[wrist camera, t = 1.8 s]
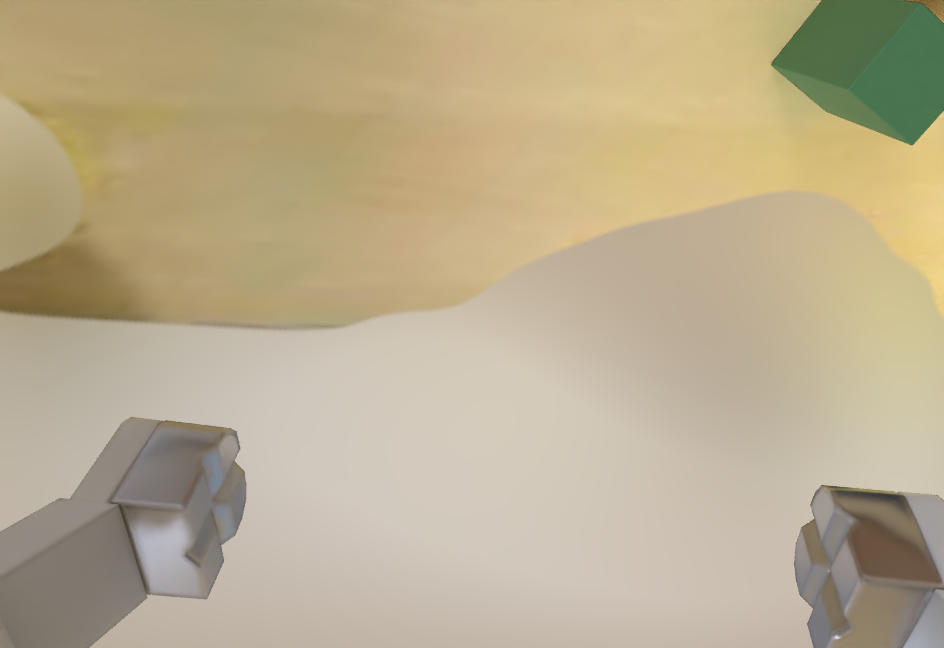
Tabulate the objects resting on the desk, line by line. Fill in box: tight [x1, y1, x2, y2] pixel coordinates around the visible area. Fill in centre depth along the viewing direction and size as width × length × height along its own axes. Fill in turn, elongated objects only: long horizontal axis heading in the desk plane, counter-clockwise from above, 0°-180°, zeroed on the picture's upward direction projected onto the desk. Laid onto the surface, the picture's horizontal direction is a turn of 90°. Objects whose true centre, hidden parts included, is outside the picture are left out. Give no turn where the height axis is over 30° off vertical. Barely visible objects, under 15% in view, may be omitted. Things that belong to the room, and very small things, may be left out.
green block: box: [771, 0, 944, 145], centre depth 43 cm, size 5×5×9 cm
